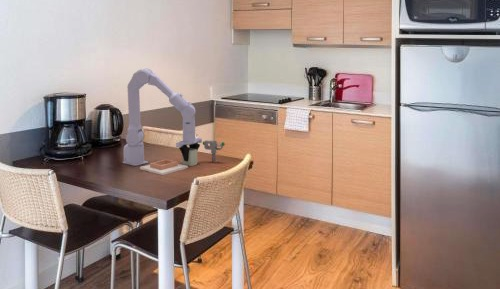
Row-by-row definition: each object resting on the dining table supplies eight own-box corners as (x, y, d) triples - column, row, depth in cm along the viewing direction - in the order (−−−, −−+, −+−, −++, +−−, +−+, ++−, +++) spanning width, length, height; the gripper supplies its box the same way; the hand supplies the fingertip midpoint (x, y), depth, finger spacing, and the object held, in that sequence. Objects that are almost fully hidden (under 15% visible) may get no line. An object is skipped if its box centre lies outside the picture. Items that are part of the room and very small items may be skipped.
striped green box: (182, 163, 211) (181, 148, 210) (188, 162, 214) (188, 147, 213) (191, 165, 207) (190, 150, 206) (197, 164, 211) (197, 149, 209)
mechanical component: (223, 163, 212) (223, 142, 210) (202, 162, 214) (202, 141, 212) (225, 161, 215) (224, 141, 213) (204, 160, 217) (204, 140, 215)
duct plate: (139, 169, 201) (139, 163, 201) (165, 162, 213) (165, 156, 212) (162, 175, 192) (162, 168, 192) (187, 168, 204) (187, 162, 203)
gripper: (183, 134, 200) (184, 164, 202) (206, 130, 211) (206, 158, 214) (172, 132, 204) (173, 161, 207) (195, 128, 215) (196, 156, 218)
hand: (189, 160), depth 210 cm, fingers closed on striped green box, 4 cm apart
